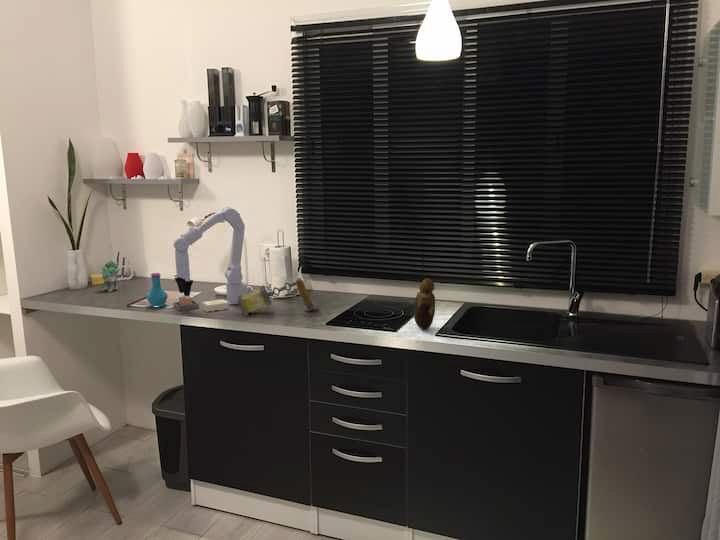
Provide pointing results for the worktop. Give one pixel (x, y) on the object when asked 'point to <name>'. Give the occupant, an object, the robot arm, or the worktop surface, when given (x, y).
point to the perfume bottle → (156, 292)
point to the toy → (110, 276)
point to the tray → (186, 306)
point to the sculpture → (425, 304)
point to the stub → (185, 300)
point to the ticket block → (214, 305)
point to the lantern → (262, 298)
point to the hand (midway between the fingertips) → (184, 294)
